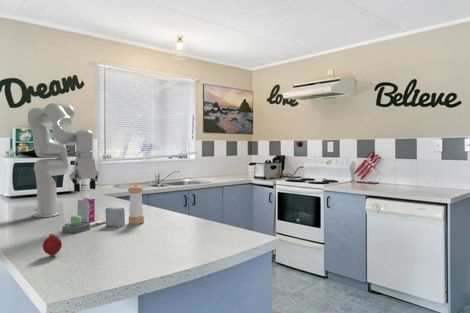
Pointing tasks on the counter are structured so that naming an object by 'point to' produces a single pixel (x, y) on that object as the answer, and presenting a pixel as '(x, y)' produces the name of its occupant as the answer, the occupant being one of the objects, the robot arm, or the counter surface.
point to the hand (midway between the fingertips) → (85, 190)
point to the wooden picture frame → (93, 223)
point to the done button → (76, 221)
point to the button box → (75, 228)
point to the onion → (52, 245)
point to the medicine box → (115, 216)
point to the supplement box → (86, 210)
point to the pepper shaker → (136, 205)
